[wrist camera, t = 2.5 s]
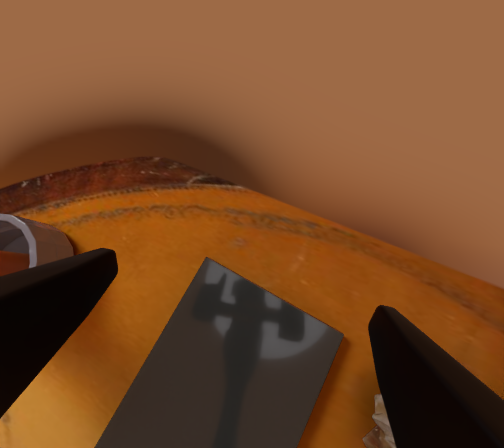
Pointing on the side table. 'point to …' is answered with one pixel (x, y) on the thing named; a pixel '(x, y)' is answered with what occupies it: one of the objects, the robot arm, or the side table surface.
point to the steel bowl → (33, 240)
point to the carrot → (13, 262)
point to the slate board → (226, 371)
